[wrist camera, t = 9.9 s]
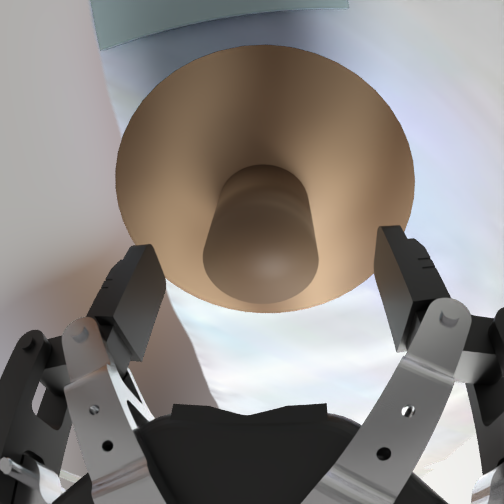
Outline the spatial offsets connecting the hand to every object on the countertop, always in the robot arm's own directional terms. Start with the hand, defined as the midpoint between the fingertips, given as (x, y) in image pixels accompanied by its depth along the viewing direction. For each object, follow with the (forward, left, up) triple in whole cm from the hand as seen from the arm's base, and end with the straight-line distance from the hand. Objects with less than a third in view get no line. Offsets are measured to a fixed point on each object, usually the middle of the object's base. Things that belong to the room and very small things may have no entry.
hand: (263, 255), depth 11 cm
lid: (0, 0, -5) cm, 5 cm away
